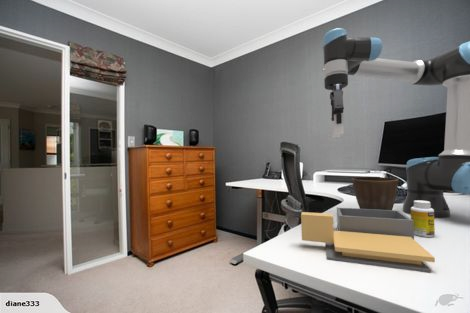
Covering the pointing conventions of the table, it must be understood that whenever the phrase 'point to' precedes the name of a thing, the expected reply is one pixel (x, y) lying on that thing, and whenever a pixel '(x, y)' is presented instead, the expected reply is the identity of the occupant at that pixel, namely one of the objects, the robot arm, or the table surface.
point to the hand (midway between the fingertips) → (337, 136)
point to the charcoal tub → (375, 222)
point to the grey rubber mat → (372, 260)
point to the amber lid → (362, 241)
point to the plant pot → (375, 192)
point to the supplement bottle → (423, 218)
